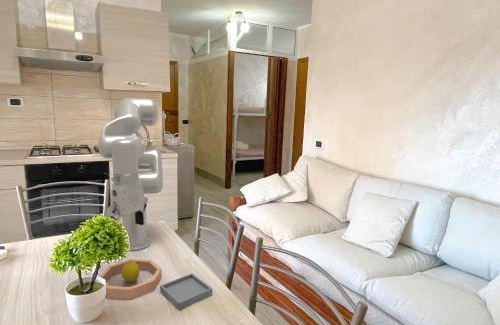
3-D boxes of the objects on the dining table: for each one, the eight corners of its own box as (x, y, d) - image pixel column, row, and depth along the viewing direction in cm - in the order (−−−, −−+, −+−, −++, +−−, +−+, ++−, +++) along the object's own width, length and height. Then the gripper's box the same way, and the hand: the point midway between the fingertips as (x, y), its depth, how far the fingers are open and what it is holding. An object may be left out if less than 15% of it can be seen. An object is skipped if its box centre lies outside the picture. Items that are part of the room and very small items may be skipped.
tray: (160, 291, 105) (160, 285, 105) (192, 278, 113) (192, 273, 113) (179, 310, 97) (179, 303, 96) (212, 294, 104) (212, 288, 104)
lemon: (134, 288, 107) (133, 265, 105) (118, 286, 108) (117, 263, 106) (142, 279, 112) (142, 258, 110) (128, 277, 113) (127, 256, 112)
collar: (93, 280, 110) (92, 271, 110) (145, 263, 123) (144, 254, 122) (113, 306, 97) (112, 296, 96) (169, 284, 109) (169, 275, 109)
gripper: (112, 185, 93) (115, 241, 97) (154, 174, 109) (155, 222, 112) (94, 182, 97) (97, 236, 100) (137, 171, 112) (139, 218, 115)
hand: (128, 229), depth 106 cm, fingers open, 9 cm apart
